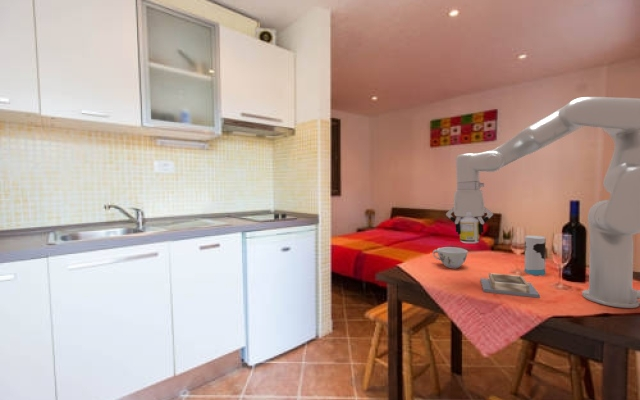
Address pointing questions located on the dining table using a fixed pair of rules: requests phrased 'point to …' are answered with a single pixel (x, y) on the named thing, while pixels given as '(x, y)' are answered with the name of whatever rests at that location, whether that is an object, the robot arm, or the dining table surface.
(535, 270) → the milk carton
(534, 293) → the dock board
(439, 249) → the teacup
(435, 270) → the dining table surface
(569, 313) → the dining table surface
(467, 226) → the pill bottle
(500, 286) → the beige square tray
